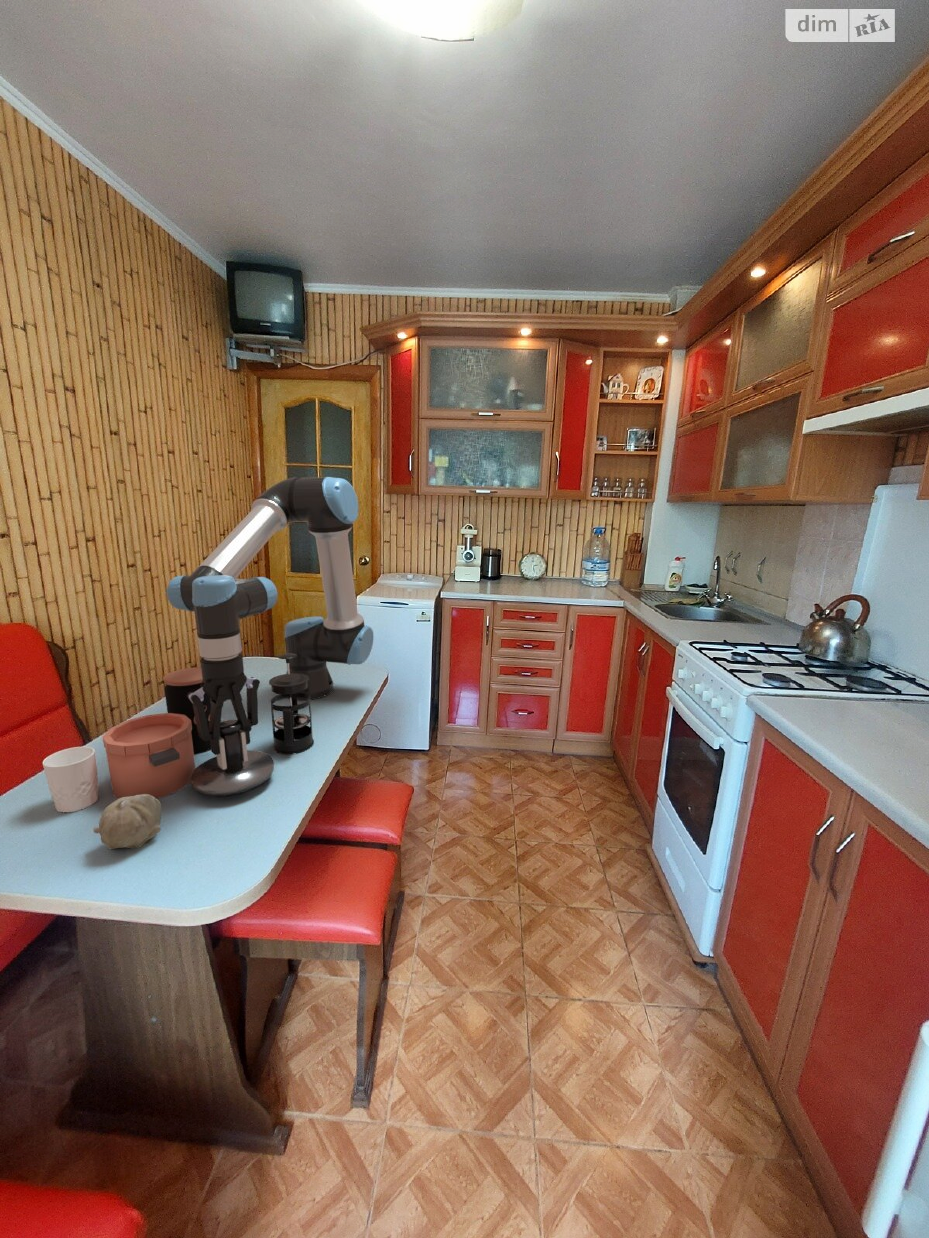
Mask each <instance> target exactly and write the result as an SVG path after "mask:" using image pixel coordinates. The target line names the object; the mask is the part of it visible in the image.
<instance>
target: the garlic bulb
mask: <svg viewBox="0 0 929 1238" xmlns="http://www.w3.org/2000/svg"><path fill="white" fill-rule="evenodd" d="M162 816H163V815H162V804H161V802H160V800H159V799H158V798H157V799H156V798H155V797H153V796H151V795H148V794H142V795H135V796H129V797H122V798H120V799H116V800H114V801H112V802H111V803H110V804H109V805H108V806H107V807H105V809H104V810H103V812H102V814H101V817H100V819H99V822H98V827H93V833H95V834H99V835H100V840H101V844H103V845H104V846H107V848H108V849H110V850H114V849H118V848H128V849H133V848H140V847H141V846H144V844H146V842H148V841H149V840H151V839H152V838H154V837H155V836H156V835H158V834H159V833H160V832H161V826H160V824H161V820H162Z"/></svg>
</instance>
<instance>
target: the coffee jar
mask: <svg viewBox="0 0 929 1238" xmlns="http://www.w3.org/2000/svg"><path fill="white" fill-rule="evenodd" d="M162 679H163V683H164V684H165V686H164V696H165V703H166V704H165V705H166V713H174V714H182V715H185V716H187V717H188V718H189V719H190V720H191V724H192V731H191V734H192V743H193V751H194V754H199V753H203V752H206V751H209V750H211V745H210V740H208V741H204V740H203V739H202V738H201V737H199V734H198V729H197V724H196V719H195V714H194V709H193V704H192V702H191V701H190V700H189V698H188V697H187V695H188V693H190V692H193V693H194V692H195V691H197V690H198V689H200V688H201V684H202V681H203V679H202V671H201V666H200V667H187V668H182V669H177V670H174V671H171V672H169V673H166V674H165V675H164V676H163V677H162ZM203 697H204V699H203V701H202V703H203V706H204V710H205V715H206V721H207V726H208V731H209V723H210V711H211V704H210V699H211V698H210V697H209V696H208V695H207V694H206V693H205V694H204V695H203Z"/></svg>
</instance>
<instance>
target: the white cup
mask: <svg viewBox="0 0 929 1238" xmlns="http://www.w3.org/2000/svg"><path fill="white" fill-rule="evenodd" d="M97 766H98V765H97V757H96V750H95V749H94V747H91V746H76V747H75V746H74V747H70V748H65V749H61V750H59V751H56V752H54V753H52V754H50V755H48V756H47V757H46V758H44V759H43V761H42V767H43V770H44V774H45V778H46V782H47V785H48V788H49V792H50V795H51V796H50V797H51V798H52V800H53V804H54V808H55V810H56V812H58V813H62V812H63V814H64V812H67V813H74V812H78V811H81V809H82V810H84V809H86V808H88V807H90V806H92V805H93V804H95V803H96V802H97V801H98V800H99V797H100V794H99V787H98V785H99V780H98V769H97V768H98V767H97Z"/></svg>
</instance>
